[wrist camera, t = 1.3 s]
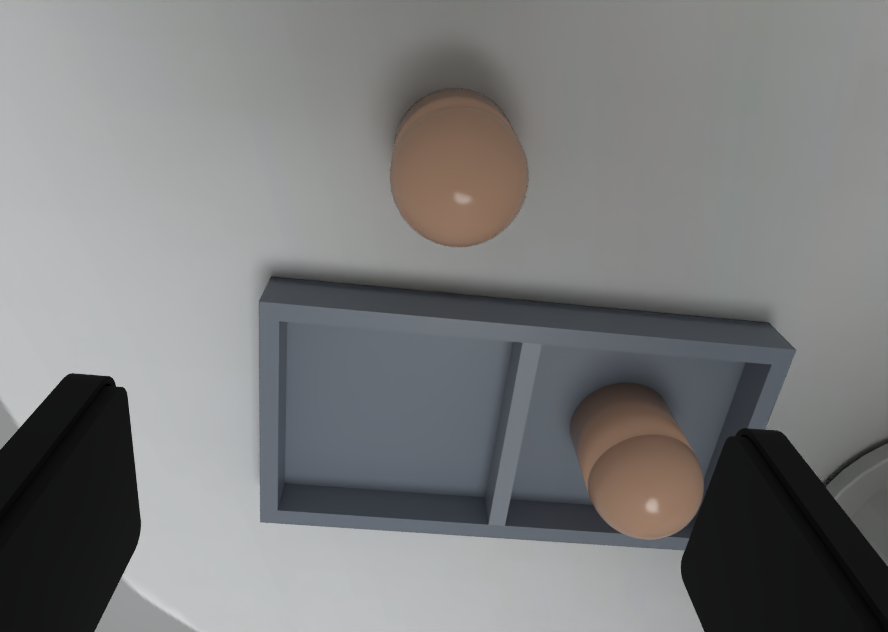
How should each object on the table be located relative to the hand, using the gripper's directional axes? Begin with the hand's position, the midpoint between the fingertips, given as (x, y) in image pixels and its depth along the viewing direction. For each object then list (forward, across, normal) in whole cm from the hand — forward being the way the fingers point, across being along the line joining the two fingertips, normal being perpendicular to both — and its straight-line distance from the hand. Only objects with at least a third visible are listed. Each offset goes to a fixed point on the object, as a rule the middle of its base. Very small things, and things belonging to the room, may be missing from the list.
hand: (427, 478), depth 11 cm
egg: (+19, -1, -1) cm, 19 cm away
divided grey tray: (+19, -5, +11) cm, 22 cm away
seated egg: (+18, -11, +11) cm, 24 cm away
